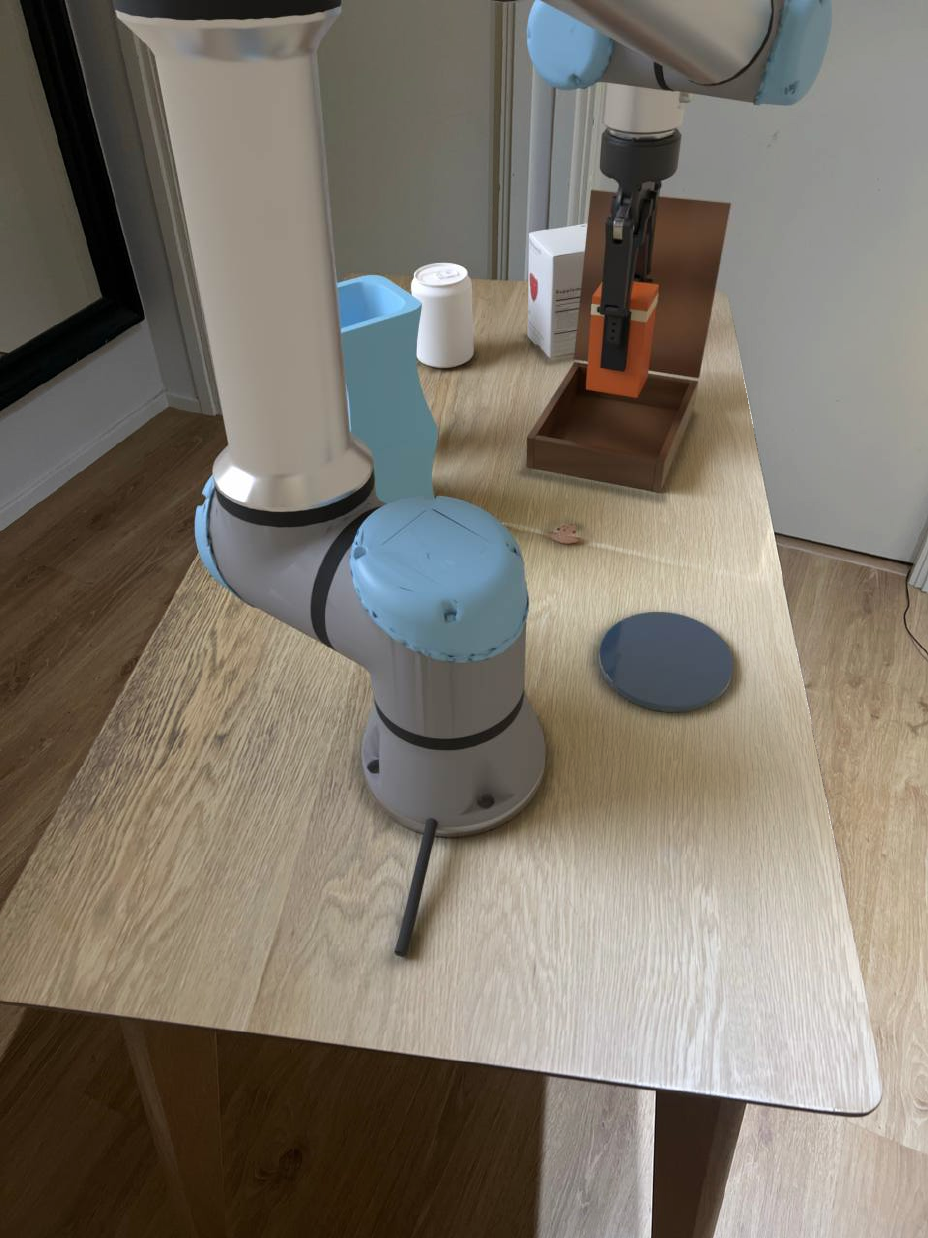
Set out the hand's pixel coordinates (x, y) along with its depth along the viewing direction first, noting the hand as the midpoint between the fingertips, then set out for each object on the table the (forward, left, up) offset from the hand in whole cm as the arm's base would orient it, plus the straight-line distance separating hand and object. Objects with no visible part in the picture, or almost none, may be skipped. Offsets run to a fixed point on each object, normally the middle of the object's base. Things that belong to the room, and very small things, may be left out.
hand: (619, 356), depth 100 cm
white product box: (+23, +13, -12) cm, 29 cm away
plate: (-34, -14, -12) cm, 38 cm away
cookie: (-19, 0, -12) cm, 22 cm away
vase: (-23, +20, -12) cm, 32 cm away
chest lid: (+11, 0, +3) cm, 11 cm away
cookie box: (0, 0, -3) cm, 3 cm away
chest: (0, 0, -12) cm, 12 cm away
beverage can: (+14, +28, -12) cm, 34 cm away
